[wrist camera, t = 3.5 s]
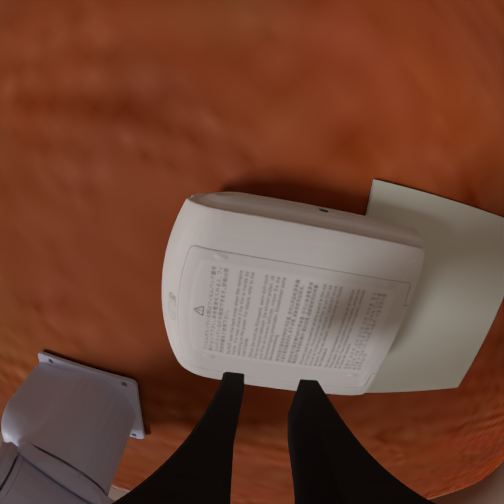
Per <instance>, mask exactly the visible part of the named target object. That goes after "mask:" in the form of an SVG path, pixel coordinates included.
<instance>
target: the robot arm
mask: <svg viewBox="0 0 504 504" xmlns="http://www.w3.org/2000/svg"><path fill="white" fill-rule="evenodd" d="M38 357H39V361H40V362H39V363H38V364H37V366H36V367H35V368H34V369H33V371H32V372H31V373H30V374H29V376H28V377H27V378H26V379H25V381H24V382H23V383H22V384H21V386H20V387H19V388H18V390H17V391H16V392H15V393H14V395H13V396H12V397H11V399H10V400H9V402H8V403H7V405H6V407H5V410H4V413H3V417H2V423H1V430H2V435H3V439H4V441H5V442H1V443H0V504H230V495H231V476H232V459H233V444H234V439H235V434H236V429H237V423H238V418H239V413H240V408H241V403H242V397H243V392H244V374H242V373H234V372H225V373H223V376H222V380H221V383H220V385H219V388H218V390H217V392H216V394H215V396H214V398H213V400H212V402H211V403H210V405H209V407H208V408H207V410H206V412H205V414H204V415H203V417H202V418H201V420H200V421H199V422H198V424H197V425H196V427H195V428H194V429H193V431H192V432H191V434H190V435H189V436H188V437H187V439H186V440H185V441H184V442H183V444H182V445H181V446H180V447H179V448H178V449H177V450H176V451H175V453H174V454H173V455H172V456H171V457H170V458H169V459H168V460H167V461H166V462H165V463H164V464H163V465H162V466H161V467H160V468H159V469H158V470H156V471H155V472H154V473H153V474H152V475H151V476H149V477H148V478H147V479H146V480H144V481H143V482H142V483H141V484H140V485H138V486H137V487H136V488H134V489H133V490H132V491H130V492H129V493H127V494H126V495H124V496H123V497H121V498H120V499H118V500H117V501H114V500H112V499H110V498H109V497H108V493H109V491H110V488H111V485H112V482H113V479H114V477H115V474H116V471H117V468H118V466H119V463H120V460H121V457H122V455H123V452H124V449H125V447H126V444H127V441H128V439H129V436H131V437H135V438H138V439H144V437H145V431H144V425H143V419H142V413H141V406H140V399H139V391H138V384H137V382H136V381H135V380H134V379H131V378H127V377H123V376H119V375H116V374H112V373H108V372H105V371H101V370H98V369H94V368H91V367H88V366H85V365H81V364H78V363H75V362H72V361H69V360H66V359H63V358H60V357H57V356H54V355H52V354H49V353H46V352H43V351H40V352H39V353H38ZM124 382H125V383H124ZM288 445H289V453H290V461H291V468H292V476H293V484H294V495H295V504H435V503H433V502H431V501H429V500H427V499H426V498H424V497H422V496H420V495H419V494H417V493H416V492H414V491H413V490H411V489H410V488H408V487H407V486H405V485H404V484H403V483H401V482H400V481H399V480H398V479H396V478H395V477H394V476H393V475H391V474H390V473H389V472H388V471H387V470H385V469H384V468H383V467H382V466H381V465H380V464H379V463H378V462H377V461H376V460H375V459H374V458H373V457H372V456H371V455H370V454H369V453H368V452H367V451H366V449H365V448H364V447H363V446H362V445H361V444H360V442H359V441H358V440H357V439H356V437H355V436H354V435H353V434H352V432H351V431H350V430H349V428H348V427H347V426H346V424H345V423H344V421H343V420H342V419H341V417H340V416H339V414H338V413H337V411H336V410H335V408H334V407H333V405H332V403H331V402H330V400H329V399H328V397H327V395H326V394H325V392H324V391H323V389H322V387H321V386H320V384H319V382H318V381H317V380H305V379H300V381H299V384H298V387H297V390H296V393H295V396H294V399H293V402H292V405H291V408H290V411H289V414H288Z"/></svg>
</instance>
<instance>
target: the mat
mask: <svg viewBox="0 0 504 504" xmlns="http://www.w3.org/2000/svg"><path fill="white" fill-rule="evenodd" d="M365 216H368V217H372V218H376V219H381V220H385V221H389V222H393V223H398V224H402V225H406V226H410V227H413V228H415V229H416V230H417V231H418V232H419V233H420V235H421V236H422V238H423V241H424V244H425V256H424V261H423V265H422V269H421V273H420V276H419V279H418V282H417V285H416V288H415V291H414V294H413V296H412V299H411V302H410V304H409V306H408V308H407V311H406V313H405V316H404V318H403V320H402V323H401V325H400V328H399V330H398V332H397V334H396V336H395V339H394V341H393V343H392V345H391V347H390V350H389V352H388V354H387V356H386V358H385V360H384V362H383V364H382V366H381V368H380V370H379V372H378V374H377V376H376V377H375V379H374V381H373V383H372V384H371V386H370V387H369V389H368V390H367V391H366V392H365V393H381V392H409V391H425V390H437V389H448V388H457V387H458V386H459V384H460V383H461V381H462V379H463V378H464V376H465V374H466V373H467V371H468V369H469V367H470V366H471V364H472V362H473V360H474V359H475V357H476V355H477V353H478V351H479V349H480V347H481V345H482V343H483V341H484V339H485V337H486V335H487V333H488V331H489V329H490V327H491V325H492V323H493V320H494V318H495V316H496V314H497V311H498V309H499V307H500V304H501V302H502V300H503V297H504V218H503V217H501V216H498V215H495V214H492V213H489V212H486V211H484V210H481V209H478V208H475V207H472V206H469V205H465V204H462V203H459V202H456V201H453V200H449V199H446V198H443V197H439V196H436V195H433V194H429V193H426V192H422V191H418V190H415V189H411V188H407V187H404V186H400V185H396V184H392V183H388V182H384V181H380V180H375V179H373V182H372V187H371V192H370V197H369V201H368V206H367V211H366V215H365Z"/></svg>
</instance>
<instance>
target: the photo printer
mask: <svg viewBox="0 0 504 504" xmlns="http://www.w3.org/2000/svg"><path fill="white" fill-rule="evenodd" d="M424 256H425V244H424V241H423V238H422V236H421V235H420V233H419V232H418V231H417V230H416V229H415V228H413V227H410V226H406V225H402V224H398V223H393V222H389V221H385V220H381V219H376V218H372V217H368V216H363V215H359V214H354V213H349V212H345V211H340V210H335V209H330V208H325V207H320V206H315V205H310V204H305V203H299V202H294V201H288V200H283V199H277V198H271V197H265V196H259V195H253V194H247V193H241V192H215V193H211V194H193V195H192V196H191V198H187V199H186V200H185V202H184V204H183V206H182V208H181V210H180V212H179V214H178V216H177V219H176V221H175V224H174V226H173V229H172V232H171V235H170V238H169V241H168V245H167V249H166V254H165V259H164V265H163V273H162V307H163V315H164V322H165V327H166V331H167V335H168V338H169V341H170V345H171V347H172V350H173V352H174V354H175V356H176V358H177V360H178V362H179V363H180V364H181V365H182V366H183V367H184V368H185V369H187V370H188V371H190V372H192V373H194V374H197V375H200V376H203V377H208V378H213V379H219V380H222V376H223V373H225V372H234V373H242V374H244V384H248V385H255V386H262V387H270V388H277V389H285V390H293V391H296V390H297V387H298V384H299V381H300V379H305V380H317V381H318V382H319V384H320V386H321V387H322V389H323V391H324V392H325V394H339V395H361V394H363V393H365V392H366V391H367V390H368V389H369V387H370V386H371V384H372V383H373V381H374V379H375V377H376V376H377V374H378V372H379V370H380V368H381V366H382V364H383V362H384V360H385V358H386V356H387V354H388V352H389V350H390V347H391V345H392V343H393V341H394V339H395V336H396V334H397V332H398V330H399V328H400V325H401V323H402V320H403V318H404V316H405V313H406V311H407V308H408V306H409V304H410V302H411V299H412V296H413V294H414V291H415V288H416V285H417V282H418V279H419V276H420V273H421V269H422V265H423V261H424Z"/></svg>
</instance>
